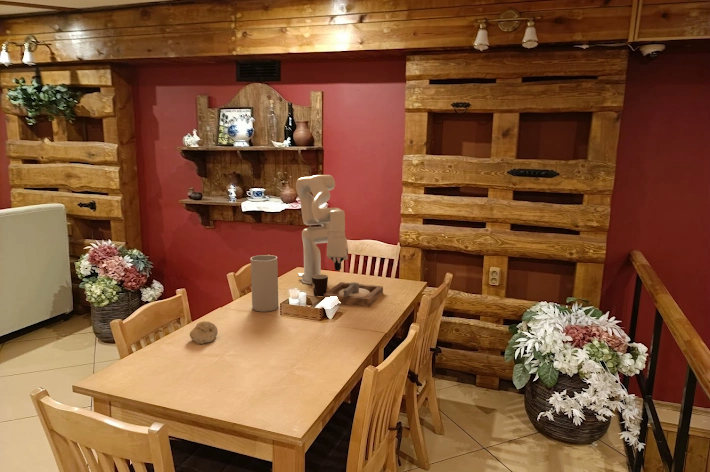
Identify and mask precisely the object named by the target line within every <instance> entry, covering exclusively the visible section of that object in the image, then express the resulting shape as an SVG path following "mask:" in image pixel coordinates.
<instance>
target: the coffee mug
mask: <svg viewBox="0 0 710 472" xmlns="http://www.w3.org/2000/svg"><path fill="white" fill-rule="evenodd" d="M328 279H329V276H328V275H327V274H322V273H321V274H319V275H313V276H312V283H313V284H312V289H313V295H315V296H314V297H317V296H323V297H324V294H325V293H326V292H328V291H327V290H328V283H329V282H328Z"/></svg>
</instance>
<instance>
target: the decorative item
mask: <svg viewBox="0 0 710 472" xmlns="http://www.w3.org/2000/svg"><path fill="white" fill-rule="evenodd" d="M218 331H219V330H218V328H217V326H216V325H215V324H214V323H212V322H210V321H201V322H198V323H196V326H195V327H194V328H193V329H192V330H191V331H190V332H189V338H190V339H191V340H192V341H194V342H195V343H196V344H197V345H202V344H207V343H211V342H213V341H214V340H215V338H216V337H217V335H218V333H219V332H218Z"/></svg>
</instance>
